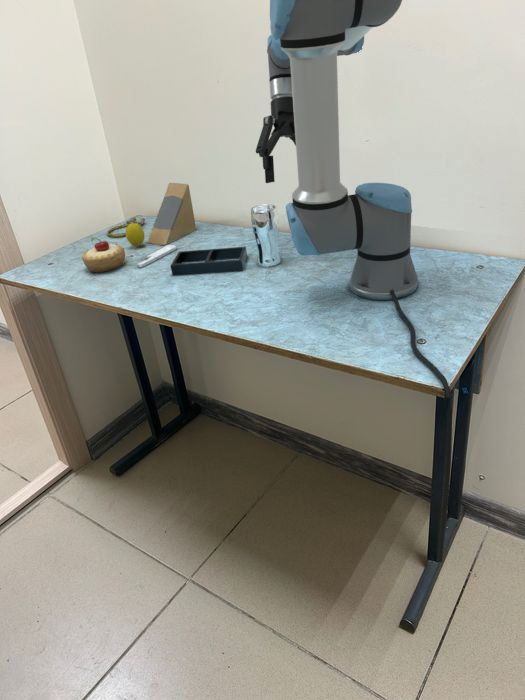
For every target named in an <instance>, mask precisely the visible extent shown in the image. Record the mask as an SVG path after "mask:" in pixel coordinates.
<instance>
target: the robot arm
mask: <svg viewBox="0 0 525 700" xmlns="http://www.w3.org/2000/svg"><path fill="white" fill-rule="evenodd" d="M402 1H403V0H269V21H270V23H269V24H270V27H269V28H270V34H269V35H268V37H267V47H266V48H267V49H266V53H267V62H268V63H267V64H268V76H269V79H268V80H269V99H270V100H271V101H270V115H266V116H264V117H263V120H262V122H263V123H262V128H261V131H260V135H259V139H258V142H257V144H256V148H255V153H256V154H257V155H258V156H259V157H260V158H262V168H263V170H264V179H265V181H264V182H265V184H271V183H275V166H274V164H275V163H274V155H271V154H272V153H273V151H274V149H275V147H276V145H277V143H278V142H279V140H280V139H281V138H288V139H290V140H291V141H292V142H293V144H294V146H295V152H296V165H297V167H296V168H297V179H298V186H297V187H296V188H295V190H294V191H293V192H292V194H291V196H292V198H291V199H292V202H289V203H287V204H286V205H285V212H286V217H287V222H288V223H287V224H288V227H289V230H290V234H291V239H292V242H293V245H294V248H295V251H296V252H297V253H298V254H299V255H300V256H303V257H309V256H318V257H319V256H320V255H326V254H332V253H338V252H346V251H352V250H357V256H356V260H355V263H354V266H353V269H352V272H351V276H350V279H349V283H350V285H349V286H350V290H351V292H352V293H353V294H355V295H356V296H358V297H361V298H364V299H367V300H374V301H393V303H394V306H395V309H396V311H397V313H398V315H399V316H400V318H401V319H402V321H403V322H404V323H405V325H406V326H407V327H408V330H409V332H410V347H411V349H412V352H413V354H414V355H415V357H417V359H419V360H420V361H421V363H423V364H424V365H426V367H428V368H429V369H430V370H431V371H432V373H433V374H434V375H435V376H436V377H437V378H438V380H439V381H440V382H441V385H442V386H443V390H444V394H445V397H446V398H452V393H451V392H452V391H451V388H450V386H449V382H448V380H447V378H446V377H445V375H444V374H443V373H442V372H441V371H440V370H439V369H438V367H437V366H436V365H435V364H433V363H432V362H431V361H430V360H429V359H428V358H426V357H425V355H423V354H422V353H421V352H420V350H419V348H418V347H417V342H416V329H415V327H414V325H413V323H412V322H411V321H410V319H409V318H408V317H407V315H406V314H405V313H404V311H403V309H402V308H401V305H400V301H399V300H398V299H401V298H405V297H408V296H409V295H411V294H413V293H414V292H415V291H416V290H417V288H418V281H419V280H418V274H417V271H416V268H415V264H414V262H413V259H412V256H411V238H412V236H411V233H412V232H411V231H412V214H413V207H412V194H411V193H410V191H409V190H408V189H407V188H405V187H404V186H401V185H398V184H394V183H388V182H386V183H385V182H365V183H362V184H358V185H357V186H356V188H355V190H354V194H349V192H348V191H349V190H348V188H347V187H346V186H345V185H343V183H342V182H341V160H340V157H341V156H340V124H339V123H340V121H339V120H340V119H339V85H338V84H339V83H338V57H339V56H350V55H353V54H358V53H360V52H361V51H362V50H363V48H362V46H363V47H364V43H365V36H366V35H367V34H368V33H369V32H370V31H371V30H372V29H373V28H378V27H380V26H383V25H384V24H386V23H387V22H389V20H391V19H392V18H393V17H394V16H395V14H396V13H397V12H398V10H399V9H400V6H402ZM360 50H361V51H360ZM359 51H360V52H359ZM357 52H358V53H357ZM273 127H274V128H273ZM445 443H446V445H445V447H446V449H445V468H444V470H445V471H444V483H443V496H442V506H441V507H442V508H441V519H440V529H439V541H438V551H437V553H438V554H437V561H438V563H442V562H443V557H444V545H445V536H446V526H447V525H446V524H447V515H448V505H449V496H450V495H449V494H450V484H451V483H450V482H451V472H452V471H451V469H452V448H453V447H452V444H453V408H447V409H446V442H445Z"/></svg>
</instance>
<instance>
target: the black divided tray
mask: <svg viewBox="0 0 525 700" xmlns="http://www.w3.org/2000/svg"><path fill="white" fill-rule="evenodd" d="M247 259H248V250H247V246H236V247H235V246H234V247H222V248H208V249H196V250H184V251H183V250H181V251H178V252H177V254H176V255H175V257H174V259H173V261H172V262H171V263H170V270H171V275H172V277H174V276H188V275H204V274H217V273H219V274H220V273H231V272H233V273H234V272H243V271H244V269H245V266H246V262H247Z"/></svg>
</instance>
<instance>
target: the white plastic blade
mask: <svg viewBox="0 0 525 700" xmlns="http://www.w3.org/2000/svg"><path fill="white" fill-rule="evenodd" d="M177 249H178V247H177V246H176V245H174V244H172V245H171V244H167V245H164V246H163V247H162V248H159V249H158V250H156V251H154V252H152V253H150V254H147V255H146V256H144V257H142V258H141V260H143V261H140V262H138V263H137V265H136V266H137V267H138V268H144V267H145V266H147V265H149V264H151V263H153V262H154V261H157V260H159V259H161V258H163V257H165V256H167V255H168V254H170V253H173V252H174V251H176V250H177ZM144 259H145V260H144Z"/></svg>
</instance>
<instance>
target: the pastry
mask: <svg viewBox="0 0 525 700" xmlns="http://www.w3.org/2000/svg"><path fill="white" fill-rule="evenodd" d="M95 239H96V240H98V241H99V242H97V243H95V244H94V247H91V248H90V249H89V250H88V249H86V251H83V253H82V255H81V260H82V262H83V264H84V266H85V267H86V268H87V269H88V270H89V271H90V272H93V273H104V272H109V271H112V270H115V269H117V268H118V269H119V268H120V267H121V266H123V264H124V262H125V259H126V252H125V247H123V246H121V245H118V244H117V243H115V244H114V243H109V242H108V241H107V240H103V241H102V240H100V238H97V237H92V238H91V243H93V242H94V240H95Z"/></svg>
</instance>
